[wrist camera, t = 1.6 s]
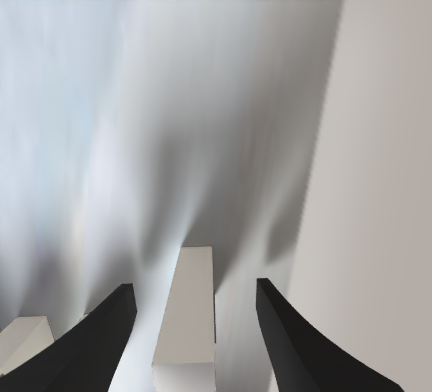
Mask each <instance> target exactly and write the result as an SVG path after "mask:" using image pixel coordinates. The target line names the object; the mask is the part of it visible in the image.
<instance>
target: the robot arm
mask: <svg viewBox="0 0 432 392" xmlns="http://www.w3.org/2000/svg"><path fill="white" fill-rule="evenodd" d="M256 310H257V315H258V320H259V325H260V328H261V332H262V335H263V338H264V341H265V344H266V347H267V351H268V354H269V357H270V360H271V363H272V366H273V370H274V373H275V377H276V381H277V385H278V389H279V392H404V391H403V389H402V388H401V387H400V386H399V385H398V384H396V383H395V382H393V381H392V380H390V379H388V378H386V377H384V376H383V375H381V374H379V373H378V372H376V371H374V370H373V369H371V368H369V367H368V366H366V365H365V364H363V363H362V362H360V361H359V360H357V359H355V358H354V357H352V356H351V355H350V354H348V353H347V352H345V351H344V350H342V349H341V348H339V347H338V346H337V345H336V344H334V343H333V342H332V341H330V340H329V339H327V338H326V337H325V336H324V335H323V334H321V333H320V332H319V331H318V330H317V329H316V328H314V327H313V326H312V325H311V324H310V323H309V322H308V321H306V320H305V319H304V318H303V317H302V316H301V315H300V314H299V313H298V312H297V311H296V310H295V309H294V308H293V307H292V306H291V304H290V303H289V302H288V301H287V300H286V299H285V298H284V297H283V296H282V294H281V293H280V292H279V291H278V290H277V289H276V287H275V286H274V285H273V284H272V283H271V281H270V280H269V279H268V278H257V290H256ZM136 314H137V308H136V302H135V296H134V290H133V284H121V285H120V286H119V287H118V288H117V289H116V290H115V291H113V292H112V293H111V294H110V295H109V296H108V297H107V298H106V299H105V300H104V301H103V302H102V303H101V304H100V305H98V306H97V307H96V308H95V309H94V310H93V311H92V312H91V313H90V314H88V315H87V316H86V317H85V318H84V319H83V320H81V321H80V322H79V323H78V324H77V325H75V326H74V327H73V328H72V329H71V330H69V331H68V332H67V333H66V334H64V335H63V336H62V337H60V338H59V339H58V340H56V341H55V342H54V343H52V344H51V345H50V346H48V347H47V348H45V349H44V350H42V351H41V352H39V353H38V354H36V355H35V356H33V357H32V358H31V359H29V360H28V361H26V362H25V363H23V364H22V365H20V366H18V367H17V368H15V369H14V370H12V371H10V372H9V373H7V374H6V375H4V376H2V377H0V392H108V389H109V387H110V384H111V381H112V378H113V376H114V373H115V371H116V369H117V366H118V364H119V361H120V359H121V356H122V354H123V352H124V349H125V347H126V344H127V342H128V339H129V337H130V334H131V332H132V329H133V325H134V322H135V318H136Z"/></svg>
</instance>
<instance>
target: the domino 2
mask: <svg viewBox="0 0 432 392" xmlns="http://www.w3.org/2000/svg"><path fill="white" fill-rule="evenodd" d="M215 343H216V325H215V292H214V290H213V264H212V246H206V247H181V248H180V252H179V256H178V260H177V264H176V268H175V272H174V276H173V280H172V284H171V288H170V292H169V296H168V300H167V304H166V308H165V312H164V316H163V320H162V324H161V328H160V332H159V336H158V341H157V345H156V349H155V353H154V357H153V361H152V365H151V366H152V372H153V378H154V384H155V390H156V392H216V372H215Z"/></svg>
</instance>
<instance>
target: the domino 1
mask: <svg viewBox="0 0 432 392" xmlns="http://www.w3.org/2000/svg"><path fill="white" fill-rule="evenodd" d="M54 342H55V341H54V338H53V335H52V332H51V329H50V326H49V323H48V320H47V317H46V316H30V317H16V318H15V319H14V320H13V321H12V322H11V323H10V324H9V325H8V326H7V327H6V328H5V329H4V330H3V331H2V332H1V333H0V377H2V376H4V375H6V374H7V373H9V372H10V371H12V370H14V369H15V368H17V367H18V366H20V365H22V364H23V363H25V362H26V361H28V360H29V359H31V358H32V357H33V356H35V355H36V354H38V353H39V352H41V351H42V350H44V349H45V348H47V347H48V346H50V345H51V344H52V343H54Z"/></svg>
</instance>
